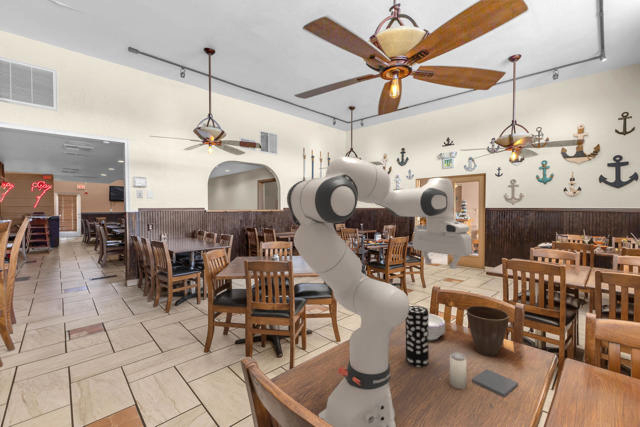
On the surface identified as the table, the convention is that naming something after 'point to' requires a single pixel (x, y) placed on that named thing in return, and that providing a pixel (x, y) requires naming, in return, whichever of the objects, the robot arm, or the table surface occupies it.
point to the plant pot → (487, 328)
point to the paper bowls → (435, 326)
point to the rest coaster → (495, 382)
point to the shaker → (458, 370)
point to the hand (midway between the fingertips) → (440, 266)
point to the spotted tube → (417, 336)
